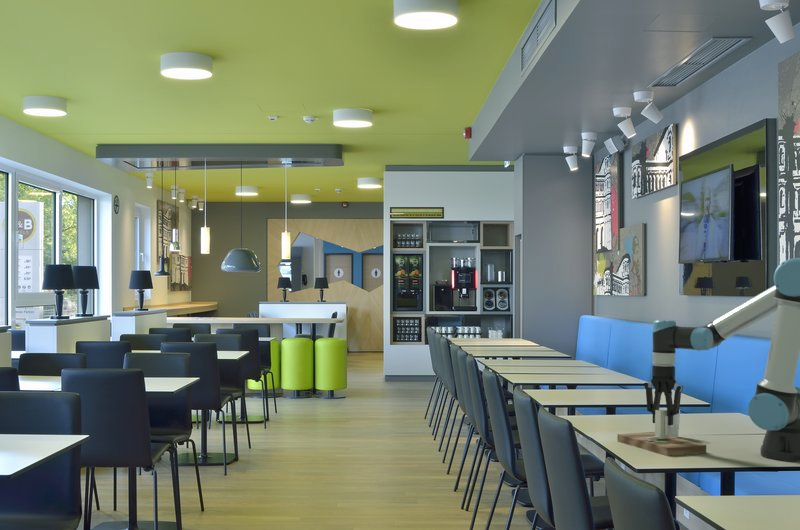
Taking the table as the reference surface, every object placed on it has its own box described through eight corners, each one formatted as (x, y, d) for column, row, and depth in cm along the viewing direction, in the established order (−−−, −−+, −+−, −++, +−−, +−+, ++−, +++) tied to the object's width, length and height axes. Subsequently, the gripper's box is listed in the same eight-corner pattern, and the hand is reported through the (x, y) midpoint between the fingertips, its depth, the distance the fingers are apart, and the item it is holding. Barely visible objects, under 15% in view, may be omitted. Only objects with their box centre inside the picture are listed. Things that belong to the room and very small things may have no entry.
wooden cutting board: (706, 452, 275) (706, 444, 275) (667, 455, 269) (667, 447, 269) (654, 438, 299) (654, 431, 299) (617, 441, 293) (617, 433, 293)
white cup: (681, 439, 299) (681, 411, 300) (658, 438, 301) (658, 410, 301) (678, 435, 307) (678, 408, 307) (656, 434, 309) (656, 407, 309)
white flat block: (670, 437, 285) (671, 409, 285) (649, 440, 279) (649, 412, 279) (665, 436, 287) (665, 409, 287) (644, 439, 281) (644, 411, 281)
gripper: (691, 366, 283) (690, 435, 282) (646, 362, 293) (645, 429, 293) (681, 367, 277) (680, 438, 276) (636, 363, 288) (635, 432, 287)
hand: (662, 433), depth 285 cm, fingers closed on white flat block, 3 cm apart
